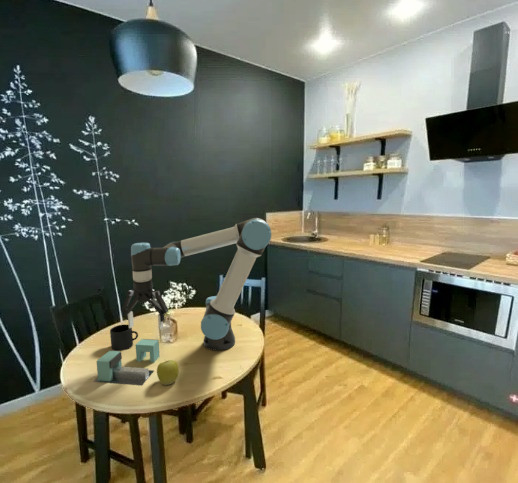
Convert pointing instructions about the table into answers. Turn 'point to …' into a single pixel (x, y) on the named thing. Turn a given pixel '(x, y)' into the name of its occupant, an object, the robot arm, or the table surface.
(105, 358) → the teal notched block
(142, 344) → the teal arch
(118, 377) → the rail base
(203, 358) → the table surface
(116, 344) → the mug
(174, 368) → the apple
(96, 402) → the table surface
